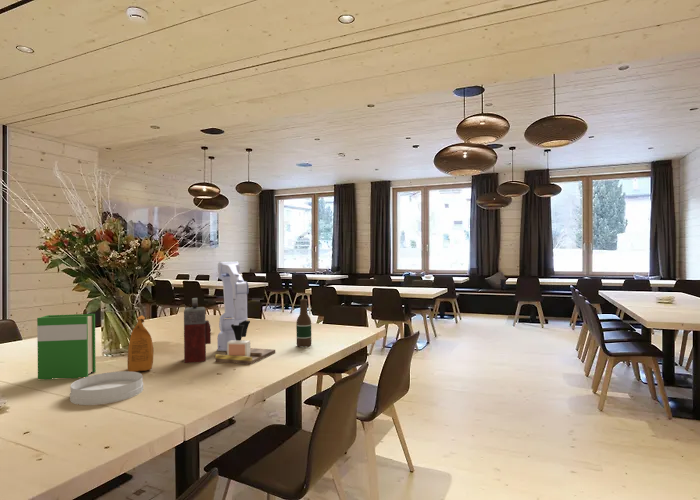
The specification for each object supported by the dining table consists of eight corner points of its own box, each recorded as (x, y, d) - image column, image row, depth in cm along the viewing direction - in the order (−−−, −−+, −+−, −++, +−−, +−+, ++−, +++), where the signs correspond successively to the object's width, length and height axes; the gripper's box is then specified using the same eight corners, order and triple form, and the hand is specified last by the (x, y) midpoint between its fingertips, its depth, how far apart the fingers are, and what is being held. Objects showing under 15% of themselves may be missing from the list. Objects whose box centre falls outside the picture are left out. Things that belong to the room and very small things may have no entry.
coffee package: (154, 364, 185) (154, 314, 185) (153, 371, 173) (152, 318, 173) (129, 367, 181) (128, 315, 181) (125, 374, 170) (125, 319, 170)
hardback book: (95, 372, 173) (95, 313, 174) (87, 377, 166) (86, 316, 166) (48, 374, 171) (47, 315, 171) (37, 380, 164) (37, 318, 164)
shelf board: (215, 361, 188) (215, 354, 188) (242, 350, 209) (242, 344, 209) (251, 364, 183) (251, 357, 183) (275, 352, 204) (275, 346, 204)
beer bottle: (293, 346, 217) (293, 299, 217) (302, 343, 224) (301, 298, 224) (306, 347, 213) (305, 300, 213) (314, 344, 220) (314, 298, 220)
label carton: (227, 358, 188) (226, 342, 188) (231, 355, 193) (231, 340, 193) (246, 358, 187) (246, 342, 187) (250, 355, 192) (250, 340, 192)
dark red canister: (211, 360, 190) (210, 298, 190) (184, 363, 186) (183, 299, 186) (211, 356, 198) (210, 296, 198) (185, 358, 195) (184, 297, 195)
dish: (127, 380, 162) (127, 367, 162) (155, 392, 148) (154, 378, 148) (60, 396, 145) (59, 382, 145) (84, 411, 131) (83, 395, 131)
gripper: (236, 306, 200) (236, 335, 200) (226, 310, 185) (227, 341, 185) (251, 306, 200) (251, 335, 200) (242, 310, 185) (243, 341, 185)
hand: (240, 338), depth 193 cm, fingers open, 7 cm apart
